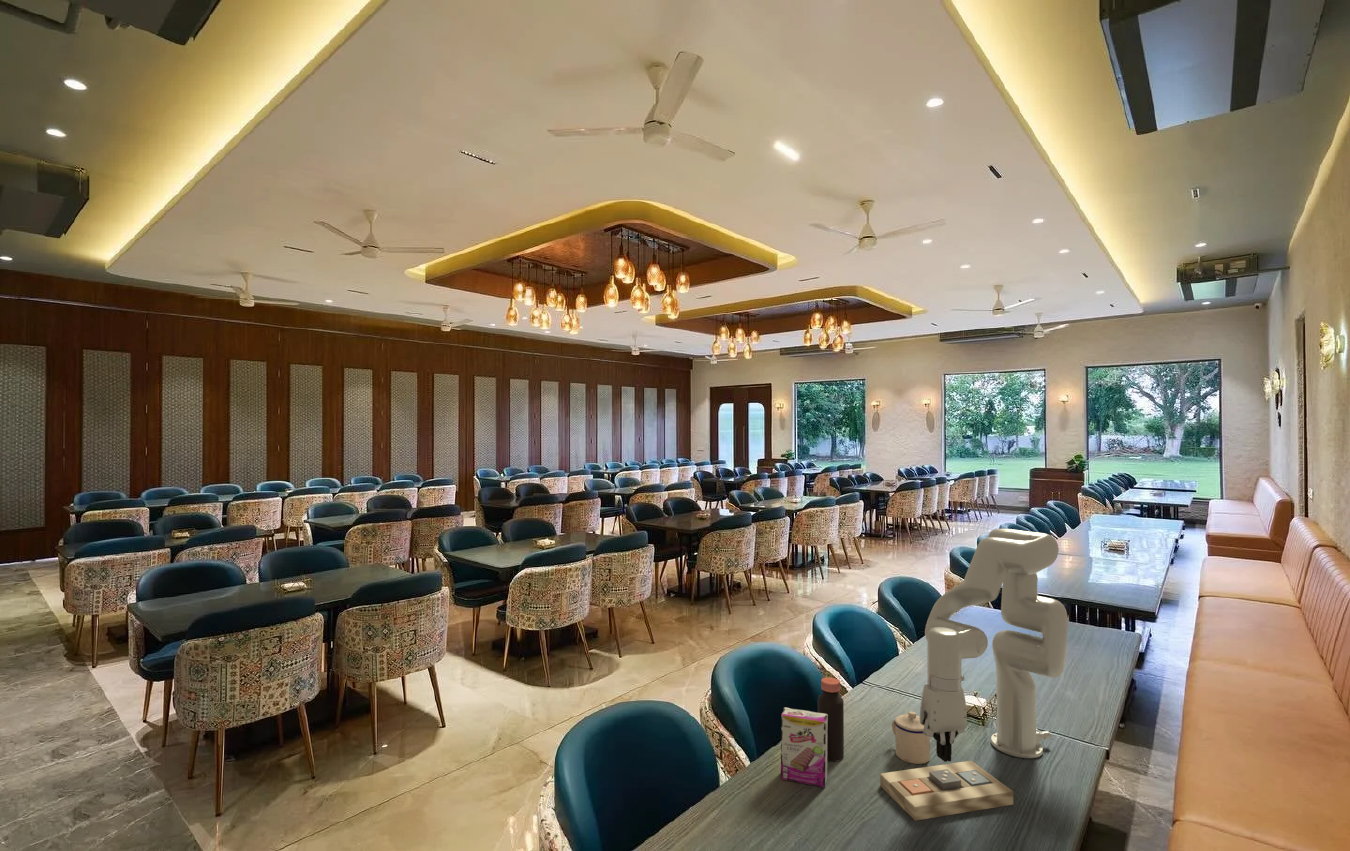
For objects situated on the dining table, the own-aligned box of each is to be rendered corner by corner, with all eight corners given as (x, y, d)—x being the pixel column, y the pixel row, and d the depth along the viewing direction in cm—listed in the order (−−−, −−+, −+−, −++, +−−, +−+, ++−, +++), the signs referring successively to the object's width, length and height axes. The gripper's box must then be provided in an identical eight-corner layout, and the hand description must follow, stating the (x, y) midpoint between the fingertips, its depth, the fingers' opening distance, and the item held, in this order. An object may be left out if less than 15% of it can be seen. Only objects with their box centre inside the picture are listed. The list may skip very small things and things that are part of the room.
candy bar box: (780, 780, 154) (780, 714, 154) (783, 770, 158) (783, 706, 158) (826, 789, 150) (825, 721, 150) (828, 778, 155) (827, 712, 155)
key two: (975, 782, 152) (975, 769, 152) (990, 793, 147) (990, 780, 147) (957, 785, 151) (957, 772, 151) (972, 796, 146) (972, 783, 146)
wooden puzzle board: (971, 772, 157) (971, 760, 157) (1013, 804, 144) (1013, 791, 144) (880, 785, 151) (880, 773, 151) (915, 820, 138) (915, 807, 138)
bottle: (845, 763, 162) (844, 686, 162) (818, 760, 163) (818, 684, 163) (842, 749, 168) (842, 676, 169) (817, 747, 170) (816, 674, 170)
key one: (918, 791, 149) (918, 778, 149) (931, 803, 144) (931, 789, 144) (900, 793, 147) (900, 780, 147) (912, 806, 143) (912, 792, 143)
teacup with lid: (938, 760, 163) (938, 716, 163) (911, 768, 159) (911, 722, 159) (905, 740, 174) (905, 698, 174) (880, 746, 170) (879, 704, 171)
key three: (947, 781, 150) (947, 768, 150) (961, 793, 146) (961, 779, 146) (929, 784, 149) (929, 771, 149) (942, 795, 144) (942, 782, 144)
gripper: (960, 673, 153) (960, 747, 153) (907, 677, 150) (907, 754, 149) (981, 685, 146) (981, 763, 145) (926, 690, 142) (926, 770, 142)
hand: (943, 758), depth 147 cm, fingers closed
